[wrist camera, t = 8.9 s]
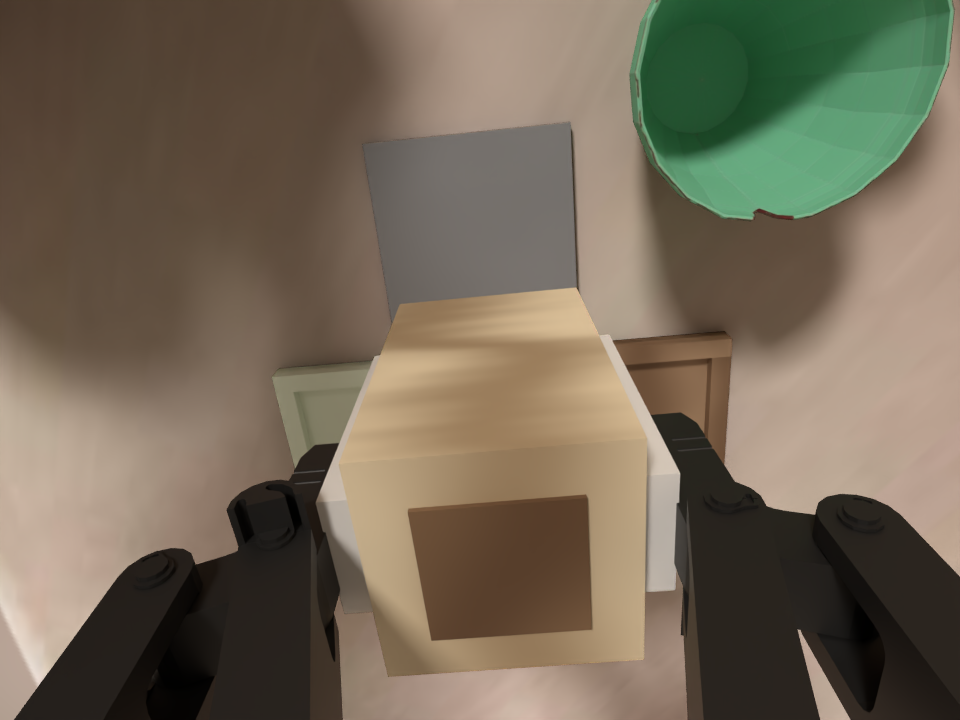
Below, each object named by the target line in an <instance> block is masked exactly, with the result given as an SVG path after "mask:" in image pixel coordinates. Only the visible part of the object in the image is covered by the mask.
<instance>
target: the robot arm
mask: <svg viewBox="0 0 960 720" xmlns="http://www.w3.org/2000/svg"><path fill="white" fill-rule="evenodd" d="M599 337H600V339H601V341H602V343H603V345H604V347H605V349H606V352H607V354H608V356H609V358H610V360H611V362H612V364H613V366H614V369H615V371H616V373H617V375H618V377H619V379H620V381H621V383H622V386H623V388H624V390H625V392H626V394H627V396H628V398H629V400H630V403H631V405H632V407H633V409H634V411H635V413H636V415H637V417H638V420H639V422H640V424H641V426H642V428H643V430H644V432H645V435H646V437H647V487H646V555H645V592H656V591H670V590H675V586H676V569H677V572H678V574H679V577H680V579H681V582H682V584H683V600H682V621H681V635H684V651H685V672H686V692H687V712H688V720H820V717H819V713H818V709H817V705H816V702H815V698H814V694H813V690H812V686H811V682H810V678H809V674H808V670H807V666H806V662H805V658H804V654H803V650H802V646H801V642H800V638H799V634H798V630H797V629H799V630H801V632H802V635H803V636H804V638H805V640H806V642H807V643H808V645H809V647H810V649H811V651H812V652H813V654H814V656H815V658H816V659H817V661H818V663H819V665H820V666H821V668H822V670H823V672H824V673H825V675H826V677H827V679H828V681H829V682H830V684H831V686H832V688H833V689H834V691H835V693H836V695H837V696H838V698H839V700H840V702H841V703H842V705H843V707H844V709H845V710H846V712H847V714H848V716H849V718H850V719H851V720H960V577H959V575H958V574H957V573H956V572H955V571H954V570H953V569H952V568H951V567H950V566H949V565H948V564H947V563H946V562H945V561H944V560H943V559H942V558H941V557H940V556H939V555H938V554H937V552H936V551H935V550H934V549H933V548H932V547H931V546H930V545H929V544H928V543H927V542H926V541H925V540H924V539H923V538H922V537H921V536H920V535H919V534H918V533H917V532H916V530H915V529H914V528H913V527H912V526H911V525H910V524H909V523H908V522H907V521H906V520H905V519H904V518H903V517H902V516H901V515H900V514H899V513H897V512H896V511H895V510H893V509H892V508H891V507H889V506H888V505H885V504H883V503H881V502H879V501H877V500H874V499H871V498H867V497H863V496H859V495H849V494H838V495H833V496H828V497H826V498H824V499H823V500H822V501H820V502H819V503H818V506H817V509H816V514H815V515H812V514H804V513H797V512H789V511H783V510H778V509H773V508H770V507H767V506H766V504H765V502H764V501H763V499H762V497H761V496H760V495H759V494H758V493H756V492H755V491H754V490H752V489H751V488H749V487H747V486H744V485H742V484H739V483H737V482H735V481H734V480H733V478H732V477H731V475H730V473H729V472H728V470H727V469H726V467H725V466H724V464H723V463H722V461H721V459H720V458H719V456H718V455H717V453H716V452H715V450H714V449H712V445H711V444H710V442H709V441H708V439H707V438H705V434H704V433H703V431H702V430H701V428H700V427H699V425H698V423H697V422H695V421H694V420H692V419H690V418H689V417H687V416H686V415H684V414H683V413H681V412H679V413H667V414H655V415H650V413H649V411H648V409H647V407H646V405H645V403H644V402H643V400H642V398H641V396H640V394H639V392H638V390H637V388H636V386H635V384H634V382H633V380H632V378H631V376H630V374H629V372H628V370H627V368H626V366H625V364H624V362H623V361H622V359H621V357H620V355H619V353H618V351H617V349H616V347H615V345H614V343H613V341H612V339H611V337H610V335H599ZM379 357H380V355H379V356H374V359H373V361H372V364H371V366H370V369H369V371H368V374H367V376H366V379H365V381H364V384H363V386H362V389H361V391H360V394H359V396H358V398H357V401H356V403H355V406H354V408H353V411H352V413H351V416H350V418H349V421H348V423H347V426H346V428H345V431H344V433H343V436H342V438H341V441H340V443H332V444H320V445H314V446H313V447H312V448H311V449H310V450H309V451H308V452H306V453H305V454H304V455H303V456H302V457H301V458H300V460H299V462H298V464H297V466H296V468H295V470H294V474H292V476H291V478H290V480H289V481H285V480H275V481H267V482H264V483H260V484H257V485H254V486H252V487H250V488H248V489H246V490H245V491H243V492H241V493H240V494H239V495H238V496H236V497H235V498H234V499H233V500H232V501H231V503H230V504H229V506H228V508H227V513H228V516H229V519H230V522H231V525H232V528H233V531H234V534H235V537H236V540H237V543H238V546H239V547H238V551H237V552H235V553H232V554H229V555H226V556H224V557H220V558H217V559H214V560H210V561H207V562H203V563H200V564H197V565H195V562H194V559H193V557H192V554H191V553H190V552H188V551H186V550H184V549H177V548H170V549H165V550H160V551H156V552H154V553H151V554H148V555H146V556H144V557H142V558H140V559H139V560H137V561H136V562H134V563H133V564H131V565H130V566H128V567H127V568H126V569H125V570H124V571H123V572H122V573H121V575H120V576H119V577H118V578H117V579H116V581H115V582H114V583H113V585H112V586H111V587H110V589H109V590H108V592H107V593H106V594H105V596H104V597H103V598H102V600H101V601H100V603H99V604H98V605H97V607H96V608H95V609H94V611H93V612H92V613H91V615H90V616H89V618H88V619H87V620H86V622H85V623H84V624H83V626H82V627H81V629H80V630H79V631H78V633H77V634H76V635H75V637H74V638H73V640H72V641H71V642H70V644H69V645H68V646H67V648H66V649H65V651H64V652H63V653H62V655H61V656H60V657H59V659H58V660H57V662H56V663H55V664H54V666H53V667H52V668H51V670H50V671H49V672H48V674H47V675H46V677H45V678H44V679H43V681H42V682H41V683H40V685H39V686H38V688H37V689H36V690H35V692H34V693H33V694H32V696H31V697H30V699H29V700H28V701H27V703H26V704H25V705H24V707H23V708H22V710H21V711H20V713H19V714H18V715H17V716H16V718H15V719H14V720H343V716H342V695H341V674H340V653H339V631H338V627H337V623H336V619H335V616H334V611H335V607H336V603H337V600H338V596H339V595H340V599H341V603H342V606H343V610H344V614H351V613H364V612H373V610H372V606H371V601H370V597H369V593H368V588H367V584H366V580H365V576H364V571H363V567H362V563H361V558H360V554H359V550H358V546H357V541H356V537H355V533H354V528H353V524H352V520H351V516H350V511H349V507H348V503H347V498H346V494H345V490H344V486H343V481H342V477H341V473H340V468H339V461H340V459H341V456H342V453H343V451H344V448H345V445H346V443H347V440H348V438H349V435H350V432H351V430H352V427H353V425H354V422H355V419H356V417H357V414H358V412H359V409H360V406H361V404H362V401H363V399H364V396H365V393H366V391H367V388H368V386H369V383H370V380H371V378H372V375H373V373H374V370H375V367H376V365H377V362H378V359H379Z"/></svg>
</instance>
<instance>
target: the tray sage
mask: <svg viewBox="0 0 960 720" xmlns="http://www.w3.org/2000/svg"><path fill="white" fill-rule="evenodd" d="M371 364H372V361H363V362H352V363H340V364H328V365H316V366H304V367H292V368H280V369H278V370H277V371H276V373H275V374H274V375H273V376H272V381H273V385H274V389H275V392H276V396H277V400H278V404H279V408H280V412H281V416H282V420H283V424H284V428H285V432H286V436H287V440H288V443H289V447H290V451H291V455H292V459H293V463H294V467H295V468H296V466H297V464H298V462H299V460H300V458H301V457H302V456H303V455H304V454H305V453H306V452H308V451H309V450H310V449H311V448H312V447H313V446H314V445H320V444H332V443H340V441H341V438H342V436H343V433H344V431H345V428H346V426H347V423H348V421H349V418H350V416H351V413H352V411H353V408H354V406H355V403H356V401H357V398H358V396H359V394H360V391H361V389H362V386H363V384H364V381H365V379H366V376H367V374H368V371H369V369H370V366H371Z"/></svg>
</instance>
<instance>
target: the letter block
mask: <svg viewBox="0 0 960 720" xmlns="http://www.w3.org/2000/svg"><path fill="white" fill-rule="evenodd" d="M339 468H340V473H341V477H342V481H343V486H344V490H345V494H346V498H347V503H348V507H349V511H350V516H351V520H352V524H353V528H354V533H355V537H356V541H357V546H358V550H359V554H360V558H361V563H362V567H363V571H364V576H365V580H366V584H367V588H368V593H369V597H370V601H371V606H372V610H373V614H374V618H375V623H376V627H377V631H378V636H379V640H380V644H381V648H382V653H383V657H384V661H385V666H386V670H387V674H388V677H392V676H407V675H421V674H436V673H451V672H466V671H481V670H496V669H511V668H526V667H541V666H556V665H570V664H585V663H600V662H615V661H630V660H644V623H645V555H646V487H647V437H646V435H645V432H644V430H643V428H642V426H641V424H640V422H639V420H638V417H637V415H636V413H635V411H634V409H633V407H632V405H631V403H630V400H629V398H628V396H627V394H626V392H625V390H624V388H623V386H622V383H621V381H620V379H619V377H618V375H617V373H616V371H615V369H614V366H613V364H612V362H611V360H610V358H609V356H608V354H607V352H606V349H605V347H604V345H603V343H602V341H601V339H600V337H599V335H598V332H597V330H596V328H595V326H594V324H593V322H592V320H591V318H590V315H589V313H588V311H587V309H586V307H585V305H584V303H583V301H582V298H581V296H580V294H579V292H578V290H577V288H576V287H575V288H565V289H554V290H544V291H533V292H523V293H512V294H502V295H491V296H480V297H470V298H459V299H449V300H438V301H428V302H417V303H407V304H400V305H399V307H398V310H397V313H396V315H395V318H394V320H393V323H392V326H391V328H390V331H389V333H388V336H387V339H386V341H385V344H384V346H383V349H382V352H381V354H380V357H379V359H378V362H377V365H376V367H375V370H374V373H373V375H372V378H371V380H370V383H369V386H368V388H367V391H366V393H365V396H364V399H363V401H362V404H361V406H360V409H359V412H358V414H357V417H356V419H355V422H354V425H353V427H352V430H351V432H350V435H349V438H348V440H347V443H346V445H345V448H344V451H343V453H342V456H341V459H340V461H339Z"/></svg>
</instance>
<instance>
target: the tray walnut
mask: <svg viewBox="0 0 960 720" xmlns="http://www.w3.org/2000/svg"><path fill="white" fill-rule="evenodd" d="M613 343H614V345H615V347H616V349H617V351H618V353H619V355H620V357H621V359H622V361H623V362H624V364H625V366H626V368H627V370H628V372H629V374H630V376H631V378H632V380H633V382H634V384H635V386H636V388H637V390H638V392H639V394H640V396H641V398H642V400H643V402H644V403H645V405H646V407H647V409H648V411H649V413H650V415H655V414H667V413H679V412H681V413H683V414H684V415H686V416H687V417H689V418H690V419H692V420H694V421H695V422H697V423H698V425H699V427H700V428H701V430H702V431H703V433H704V434H705V438H707V439H708V441H709V442H710V444H711V445H712V449H714V450H715V452H716V453H717V455H718V456H719V458H720V459H721V461H722V463H723V464H724V459H725V444H726V429H727V414H728V399H729V384H730V368H731V353H732V338H731V337H730V336H729V335H728V334H727V333H726V332H725V331H721V332H709V333H697V334H685V335H673V336H661V337H649V338H637V339H625V340H614V341H613Z"/></svg>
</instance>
